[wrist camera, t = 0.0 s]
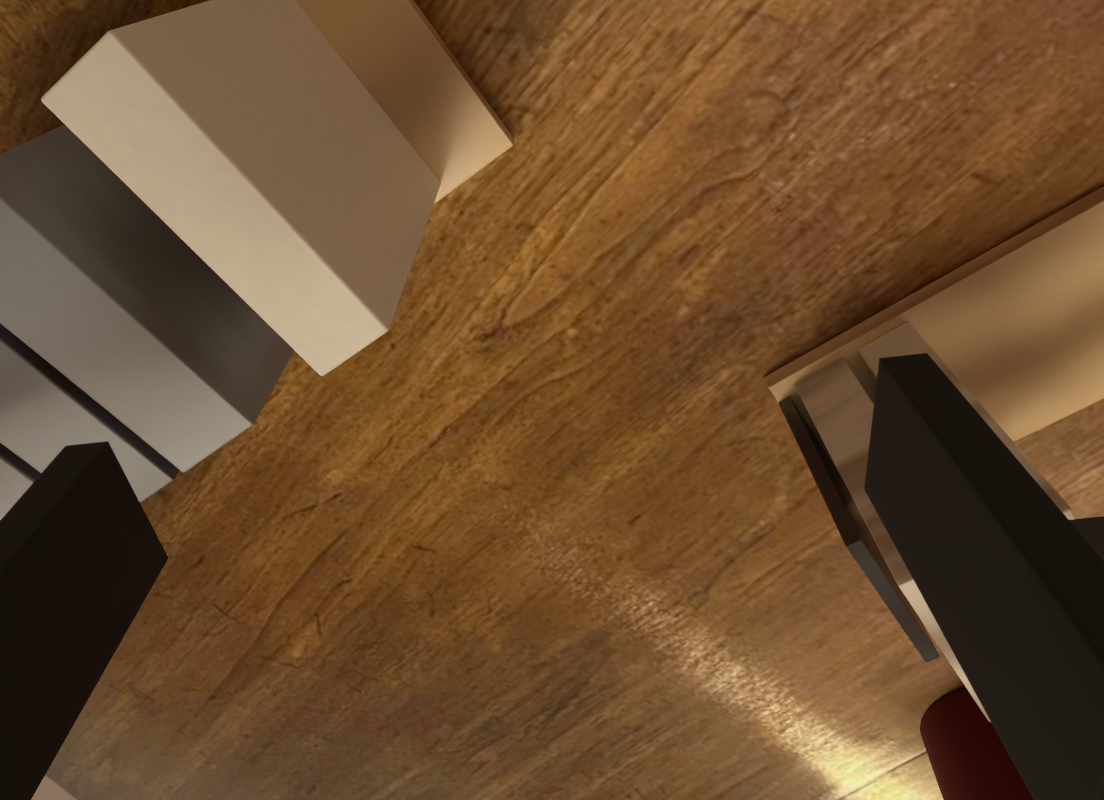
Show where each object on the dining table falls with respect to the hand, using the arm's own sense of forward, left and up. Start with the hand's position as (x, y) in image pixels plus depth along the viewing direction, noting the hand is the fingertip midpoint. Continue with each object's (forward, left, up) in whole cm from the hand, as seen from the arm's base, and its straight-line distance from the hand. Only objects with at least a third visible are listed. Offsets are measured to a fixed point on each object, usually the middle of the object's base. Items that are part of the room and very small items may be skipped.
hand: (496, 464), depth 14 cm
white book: (-5, -5, -21) cm, 22 cm away
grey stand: (-5, -10, -22) cm, 24 cm away
